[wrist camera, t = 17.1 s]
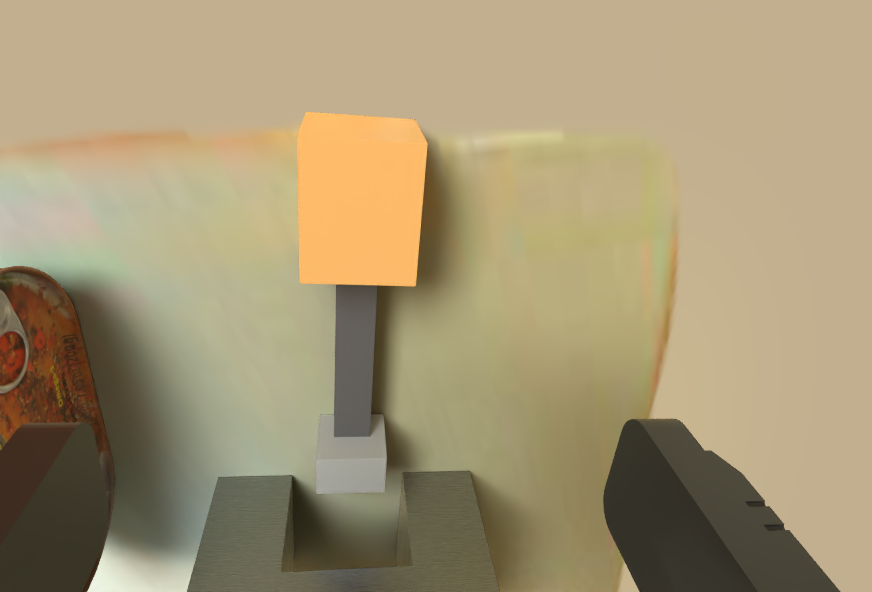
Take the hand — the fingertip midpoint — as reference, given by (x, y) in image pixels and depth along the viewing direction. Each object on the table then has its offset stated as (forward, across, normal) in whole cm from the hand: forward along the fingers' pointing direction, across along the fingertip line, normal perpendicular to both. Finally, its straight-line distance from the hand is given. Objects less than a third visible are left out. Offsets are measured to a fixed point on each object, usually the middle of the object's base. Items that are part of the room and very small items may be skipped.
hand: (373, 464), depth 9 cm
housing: (+16, 0, +18) cm, 24 cm away
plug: (+16, 0, +5) cm, 16 cm away
